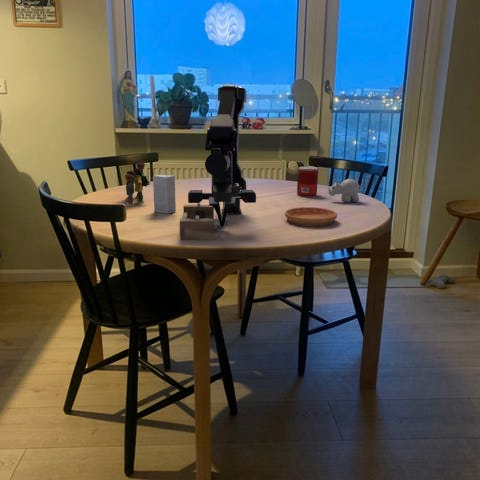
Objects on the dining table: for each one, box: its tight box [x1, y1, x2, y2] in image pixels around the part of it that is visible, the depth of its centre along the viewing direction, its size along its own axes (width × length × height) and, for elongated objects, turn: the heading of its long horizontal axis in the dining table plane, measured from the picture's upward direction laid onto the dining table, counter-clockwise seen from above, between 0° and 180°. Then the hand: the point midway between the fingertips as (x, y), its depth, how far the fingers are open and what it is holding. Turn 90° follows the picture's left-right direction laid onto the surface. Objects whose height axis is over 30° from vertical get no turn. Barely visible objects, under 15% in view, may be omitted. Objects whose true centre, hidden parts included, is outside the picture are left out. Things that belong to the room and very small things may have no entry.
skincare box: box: [152, 174, 177, 215], centre depth 149 cm, size 6×4×12 cm
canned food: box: [296, 166, 319, 197], centre depth 182 cm, size 8×8×11 cm
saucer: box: [284, 206, 338, 227], centre depth 141 cm, size 16×16×3 cm
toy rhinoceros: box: [327, 178, 361, 203], centre depth 171 cm, size 7×12×8 cm, turn 95°
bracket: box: [214, 218, 228, 233], centre depth 132 cm, size 4×10×2 cm, turn 165°
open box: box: [179, 202, 216, 241], centre depth 128 cm, size 21×9×6 cm, turn 4°
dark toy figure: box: [124, 161, 151, 207], centre depth 166 cm, size 23×9×13 cm, turn 18°
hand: (222, 226), depth 129 cm, fingers closed
